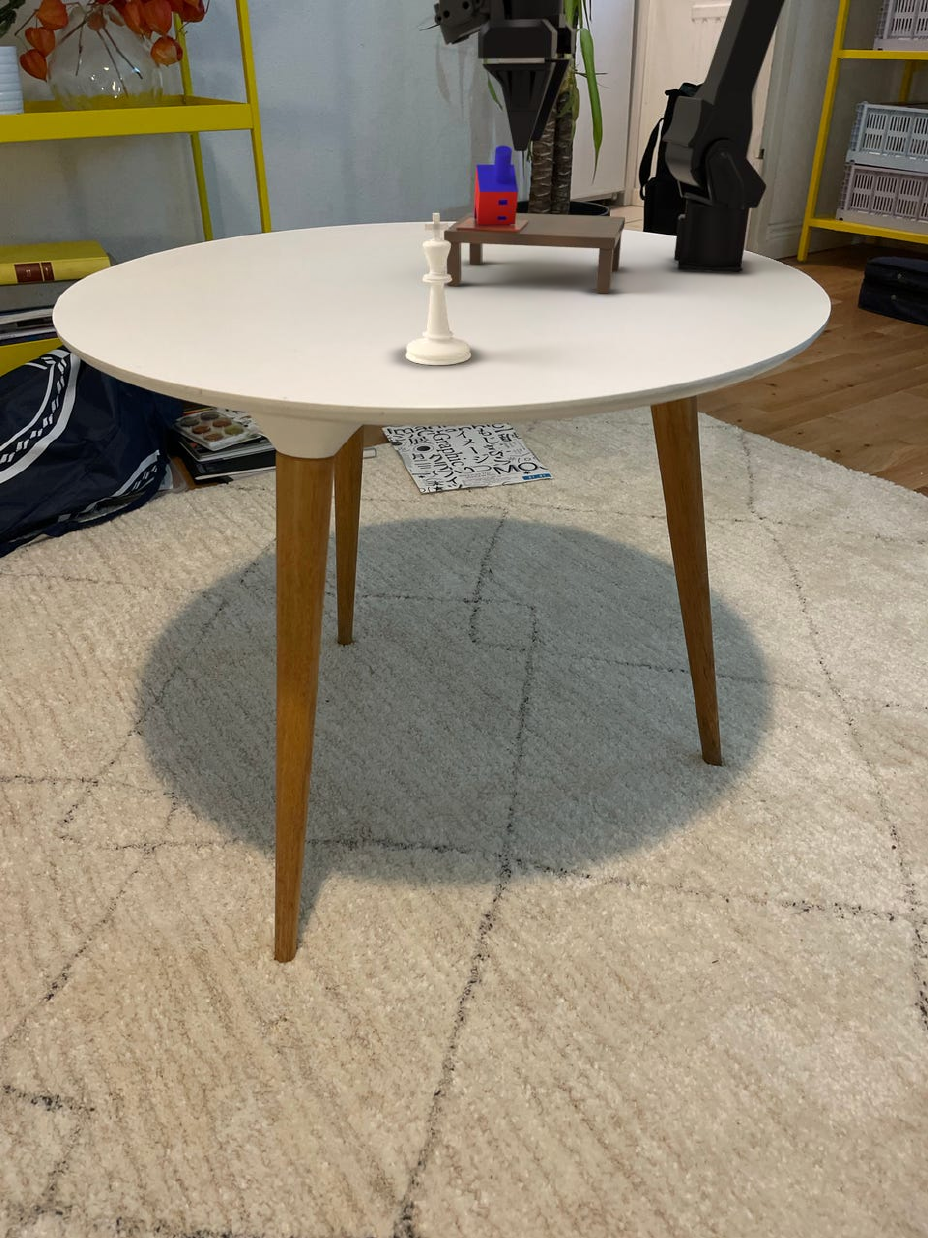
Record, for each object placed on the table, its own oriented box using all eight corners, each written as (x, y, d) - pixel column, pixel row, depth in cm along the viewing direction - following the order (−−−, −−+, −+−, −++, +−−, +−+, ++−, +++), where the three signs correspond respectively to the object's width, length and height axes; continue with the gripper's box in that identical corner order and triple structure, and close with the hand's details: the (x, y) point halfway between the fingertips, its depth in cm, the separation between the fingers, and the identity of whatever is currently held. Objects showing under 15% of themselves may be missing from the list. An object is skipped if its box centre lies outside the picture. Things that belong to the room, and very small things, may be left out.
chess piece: (404, 347, 74) (400, 208, 69) (467, 345, 75) (468, 207, 69) (406, 366, 70) (402, 219, 65) (473, 364, 70) (474, 218, 65)
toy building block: (476, 240, 93) (481, 163, 86) (473, 213, 95) (477, 135, 88) (513, 240, 93) (520, 163, 86) (509, 213, 95) (516, 135, 88)
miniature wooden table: (620, 268, 100) (625, 214, 97) (611, 294, 90) (615, 235, 87) (470, 261, 102) (470, 209, 100) (444, 286, 92) (443, 228, 90)
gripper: (463, -46, 92) (465, 136, 100) (414, -62, 76) (421, 155, 84) (579, -50, 90) (571, 136, 98) (554, -66, 74) (547, 156, 82)
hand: (528, 145), depth 91 cm, fingers open, 9 cm apart
